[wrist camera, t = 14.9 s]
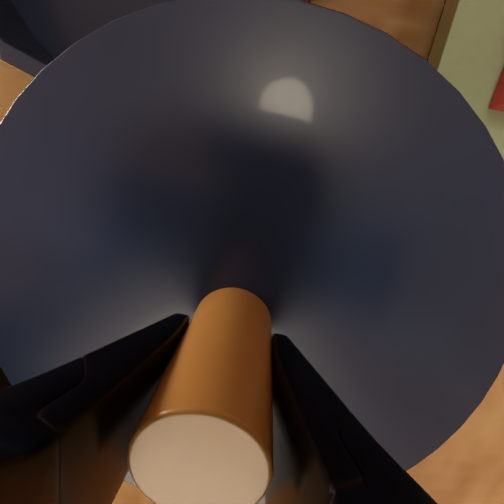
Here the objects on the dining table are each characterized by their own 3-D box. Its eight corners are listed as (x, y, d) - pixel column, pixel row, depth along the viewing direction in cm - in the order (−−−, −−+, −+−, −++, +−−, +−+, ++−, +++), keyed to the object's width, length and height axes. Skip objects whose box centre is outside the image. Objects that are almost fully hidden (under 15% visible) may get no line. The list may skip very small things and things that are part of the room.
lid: (394, 519, 14) (489, 787, 8) (9, 440, 14) (-189, 650, 8) (612, 85, 8) (1467, -119, 2) (-25, -46, 8) (-762, -575, 2)
